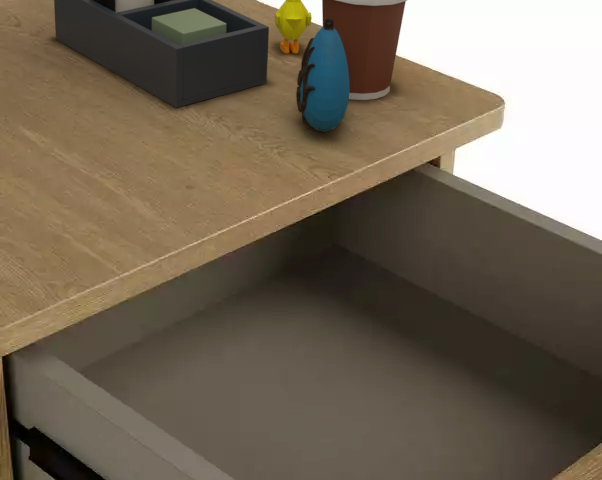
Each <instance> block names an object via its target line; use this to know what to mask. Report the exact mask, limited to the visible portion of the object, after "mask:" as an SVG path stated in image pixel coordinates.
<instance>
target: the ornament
mask: <svg viewBox="0 0 602 480" xmlns="http://www.w3.org/2000/svg"><path fill="white" fill-rule="evenodd" d="M328 22H331V24H327V23H328ZM300 64H301V65H300V67H301V68H300V69H299V71H298V73H297V78H296V79H297V80H296V81H297V82H296V84H297V87H296V93H295V98H296V99H295V100H296V105H297V110H298V112H299V113H301V120H302V122H307V123H308V124H309V126H311V127H312V128H314V130H316V131H319V132H323V133H326V132H330V131H332V130H334V129H335V128H337V127H338V126H339V125H340V124H341V122H342V121H343V119H344V117H345V115H346V112H347V109H348V105H349V100H350V99H349V72H348V65H347V59H346V55H345V51H344V47H343V44H342V41H341V38H340V36H339V34H338V32H337V31H336V30H335V29H334V20H333V19H332V18H327V19H326V20H325V22H324V27H323V26H322V27H320V28H319V30H318V31H317V32H316V33H315V35H314V37H311V38H310V39H309V40H308V43H307V45H306V48H305V50H304V52H303V55H302V58H301V63H300Z"/></svg>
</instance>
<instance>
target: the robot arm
mask: <svg viewBox="0 0 602 480" xmlns="http://www.w3.org/2000/svg"><path fill="white" fill-rule="evenodd" d="M93 1H95V2H97V3H99V4H100V5H102V6H104V7H106V8H108V9H110V10H112V11H114V12H115V0H93ZM159 3H164V0H154V4H159Z"/></svg>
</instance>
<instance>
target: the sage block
mask: <svg viewBox="0 0 602 480" xmlns="http://www.w3.org/2000/svg"><path fill="white" fill-rule="evenodd" d="M226 25H227V24H226V23H224V22H222V21H220V20H218V19H216V18H214V17H212V16H210V15H208V14H206V13H204V12H201V11H199V10H197V9H195V8H193V9H188V10H184V11H179V12H175V13H170V14H166V15H161V16H157V17H152V31H153V32H155V33H156V34H158V35H160V36H162V37H164V38H166V39H168V40H170V41H172V42H174V43H176V44H178V45H179V44H184V43H188V42H192V41H196V40H201V39H205V38H209V37H213V36H217V35H222V34H226Z"/></svg>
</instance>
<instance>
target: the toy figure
mask: <svg viewBox="0 0 602 480" xmlns="http://www.w3.org/2000/svg"><path fill="white" fill-rule="evenodd" d="M274 23H275V27H276V28H277V29H278V31H279V32H280V34H281V36H282V37H283V40H282V41H280V42H279V49H280V51H281V52H283V54H290V51H291V53H292V54H299V50H300V42H299V38H300V36H302V35H303V33H304V32H305V30H306V29H307V27H310V26H311V25H312V13H311V12H309V11H308V9H307V7H306V5H305V4H304V3H303V1H302V0H284V2H283V3H282V4H281V5H280V7H279V8H278V9H277V11H276V12H275V13H274ZM290 40H291V41H290ZM289 41H290V42H289Z"/></svg>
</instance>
